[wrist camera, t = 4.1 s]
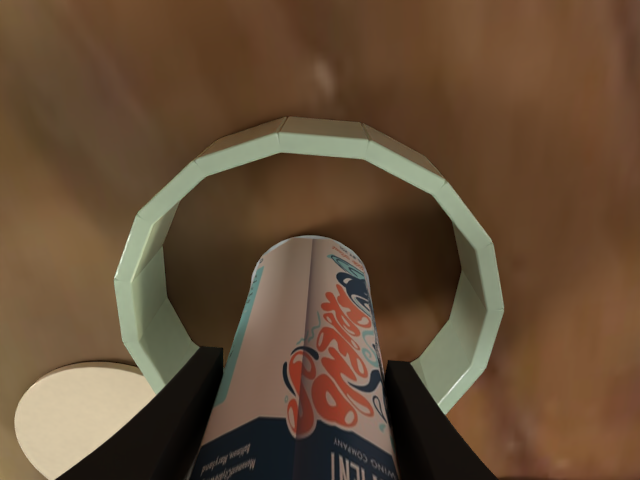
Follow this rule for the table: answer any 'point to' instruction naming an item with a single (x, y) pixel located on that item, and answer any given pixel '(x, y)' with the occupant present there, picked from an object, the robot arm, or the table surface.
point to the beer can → (303, 375)
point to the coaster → (77, 412)
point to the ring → (321, 140)
